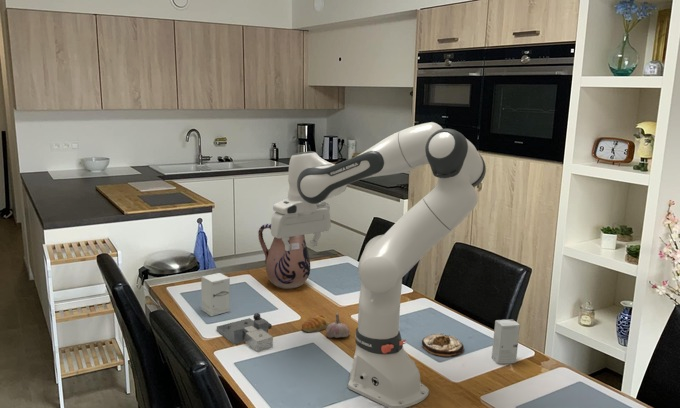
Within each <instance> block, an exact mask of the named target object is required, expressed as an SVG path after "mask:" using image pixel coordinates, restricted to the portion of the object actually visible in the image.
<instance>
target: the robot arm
mask: <svg viewBox="0 0 680 408" xmlns="http://www.w3.org/2000/svg"><path fill="white" fill-rule="evenodd" d="M428 164H429V167H430V169H431V173H432V175H433V176H434V177H435V178H437V184H436V185H435V186H434V188H433V189H431V191H429V192H428V193H427V194H426V195H424V196H423V198H421V199H420V200H419V201H418V202H416V203H415V204H414V205H413V206H411V208H409V210H408V211H406V212H405V213H404V214H403V215H402V216H401V217H400V218H398V220H397V221H396V222H395V223H394V224H393V225H392V226H391V227H390V228H389V229H388V230H387V231H386V232H385V233H384V234H380V235H376V236H374V237H373V238H371V239H370V240H369V241H368V242H367V243H366V244H365V247H364V250H363V252H362V254H361V256H360V259H359V261H358V266H357V270H358V277H359V280H360V289H359V298H358V311H357V312H358V315H357V327H356V329H355V344H356V346H355V351H354V355H353V359H352V366H351V371H350V373H349V376H348V377H349V381H348V384H347V388H348V389H349V390H351V391H353V392H354V393H357V394H359V395H361V396H363V397H366V398H367V399H369V400H371V401H373V402H376V403H378V404H380V405H382V406H385V408H386V407H387V408H410V407H412V406H415V405H417V404H418V403H421V402H423V401H424V400H425V399H426V398H428V396H429V394H430V390H429V388H428V387H427V386H426V385H425V384H423V382H421V373H420V369H419V368H418V367H417V364H416V361H415V360H414V359H411V358H410V356H409V354H408V353H407V351H406V350H405V348H403V347H404V345H405V344H406V341H407V340H406V339H403V338H402V336H401V331H400V313H401V312H400V311H401V300H402V299H401V298H402V286H403V277H405V276H406V275H407V274H408V273H409V272H410V271H411V270H412V269H413V268H414V266H416V265H417V264H418V262H419V261H420V260H422V258H423V257H424V256H425V255H426V254H427V252H429V251H430V250H431V249H432V248H433V247H435V246H436V245H437V244H438V243H440V241H441V240H443V239H445V237H446V236H447V235H449V234H450V233H451V232H452V231H453V230H455V229H456V228H457V227H458V226H459V225H460V224H461V223H462V222H463V221H464V220H465V219H466V218H467V217H468V216H469V215H470V214H471V212H472V211H473V210H474V209H475V208H476V206H477V204H478V202H479V201H478V198H479V197H478V194H477V191H476V189H475V187H478V185H480V184H481V183H482V182H483V180H484V178H485V177H486V172H487V167H486V163H485V159H484V158H483V157H482V155H481V154H480V153H479V152H478V150H477V148H476V146H475V145H474V144H473V143H472V142H471V141H470V140H469V139H467V138H466V137H465V136H464V134H462V133H461V132H459V131H457V130H456V129H452V128H443V127H442V126H441V125H440V124H438V123H436V122H434V121H431V122H424V123H420V124H416V125H413V126H410V127H407V128H404V129H401V130H399V131H397V132H395V133H392V134H391V135H389V136H387V137H385V138H384V139H382V140H380V141H379V142H377V143H376V144H374V145H373V146H371V147H369V148H368V149H366V150H365V151H363V152H361V153H360V154H358V155H356V156H354V157H351V158H349V159H346V160H343V161H342V162H341V161H340V162H339V163H336V164H335V163H333V162H329V161H327V160H325V159H323V158H322V157H321V156H320V155H318V153H317V152H316V151H314V150H313V151H312V150H309V151H308V150H307V151H302V152H295V153H293V154H292V155H291V157H290V158H289V164H288V177H287V178H288V179H287V180H288V181H287V182H288V185H289V189H288V191H287V197H286V198H284V199H282V200H280V201H278V202H276V203H274V204H273V206H272V210H273V211H274V212H273V213H272V216H271V221H270V222H271V223H270V224H271V229H270V234H271V236H272V237H273V238H274V237H275V238H278V239H280V238H282V241H283V242H284V244H285V250H286V251H291V250H292V245H290V244H289V242H288V240H289V237H292V236H299V235H304V236H305V235H310V234H312V235H313V238H312V239H310V240H309V241H310V244H309V245H310V246H311V247H313V248H314V247H317V246H318V241H319V239H320V237H321V234H322V233H323V232H329V231H330V229H331V226H332V225H331V224H332V223H331V213H330V212H331V211H330V210H331V209H330V204H328V203H327V201H325V200H327V199H330V198H334V197H336V196H339V195H341V194H342V193H343V192H345V191H346V189H347V187H348V185H349V184H353V183H354V182H357V181H361V180H364V179H369V178H374V177H381V176H390V175H397V174H402V173H405V172H409V171H412V170H414V169H417V168H420V167H422V166H425V165H428Z"/></svg>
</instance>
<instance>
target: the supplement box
mask: <svg viewBox="0 0 680 408" xmlns="http://www.w3.org/2000/svg"><path fill="white" fill-rule="evenodd" d="M200 278H201V280H200V281H201V284H200V285H201V289H200V290H201V311H203V312H204V313H205V314H207V315H208V316H210V317H213V316H217V315H220V314H224V313H229V312H230V311H231V307H230V302H231V301H230V297H231V296H230V293H231V292H230V290H231V288H230V287H231V285H230V283H231V281H230V279H231V278H230V277H229V276H227V275H226V274H223V273H221V272H217V273H213V274H208V275H203V276H201V277H200Z"/></svg>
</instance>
